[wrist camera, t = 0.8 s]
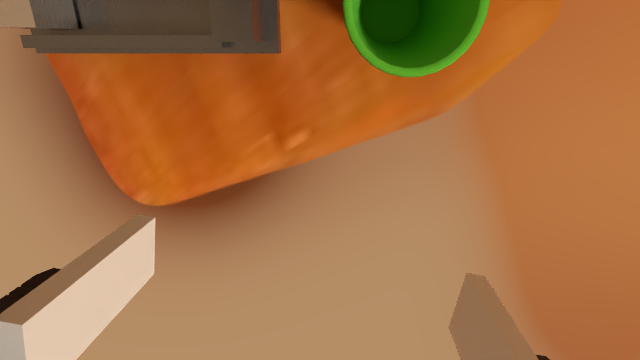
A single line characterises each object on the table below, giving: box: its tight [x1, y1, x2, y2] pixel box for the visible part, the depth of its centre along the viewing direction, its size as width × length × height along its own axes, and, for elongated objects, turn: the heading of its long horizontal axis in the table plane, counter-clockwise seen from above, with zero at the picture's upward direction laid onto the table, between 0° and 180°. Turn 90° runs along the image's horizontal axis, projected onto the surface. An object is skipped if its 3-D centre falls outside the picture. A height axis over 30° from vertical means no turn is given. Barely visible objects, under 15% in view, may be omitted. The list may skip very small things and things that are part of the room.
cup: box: [342, 0, 490, 77], centre depth 28 cm, size 9×9×11 cm
